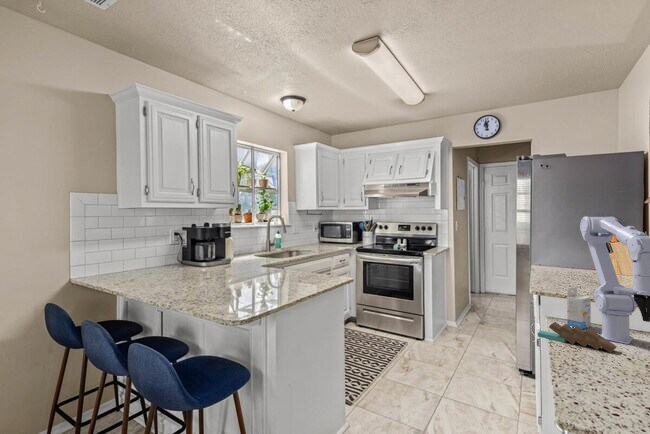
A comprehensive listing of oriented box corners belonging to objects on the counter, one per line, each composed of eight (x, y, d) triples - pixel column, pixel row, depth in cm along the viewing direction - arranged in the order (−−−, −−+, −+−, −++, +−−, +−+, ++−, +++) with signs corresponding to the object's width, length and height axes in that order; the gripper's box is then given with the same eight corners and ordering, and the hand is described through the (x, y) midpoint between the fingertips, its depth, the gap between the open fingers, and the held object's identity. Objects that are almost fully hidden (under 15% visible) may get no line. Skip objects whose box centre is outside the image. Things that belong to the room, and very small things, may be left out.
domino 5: (610, 353, 104) (582, 334, 109) (613, 350, 106) (586, 332, 112) (614, 349, 103) (585, 330, 108) (616, 346, 106) (589, 328, 111)
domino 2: (572, 344, 111) (548, 327, 116) (576, 342, 114) (552, 325, 119) (575, 341, 110) (551, 323, 116) (579, 338, 113) (555, 321, 118)
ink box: (582, 330, 126) (581, 290, 127) (566, 326, 131) (566, 288, 131) (591, 326, 131) (591, 288, 131) (576, 323, 135) (575, 286, 136)
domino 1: (564, 343, 113) (537, 337, 119) (568, 341, 115) (541, 334, 122) (564, 338, 113) (537, 332, 119) (568, 336, 115) (541, 330, 122)
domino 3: (584, 347, 109) (559, 329, 114) (588, 344, 111) (563, 327, 117) (587, 343, 108) (562, 325, 113) (591, 340, 110) (566, 323, 116)
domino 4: (597, 350, 106) (570, 331, 111) (600, 347, 109) (574, 329, 114) (600, 346, 106) (573, 328, 111) (603, 343, 108) (577, 325, 113)
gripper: (611, 274, 105) (612, 318, 105) (679, 279, 94) (680, 329, 94) (616, 272, 110) (617, 314, 109) (681, 277, 99) (682, 324, 98)
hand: (646, 321), depth 102 cm, fingers closed
